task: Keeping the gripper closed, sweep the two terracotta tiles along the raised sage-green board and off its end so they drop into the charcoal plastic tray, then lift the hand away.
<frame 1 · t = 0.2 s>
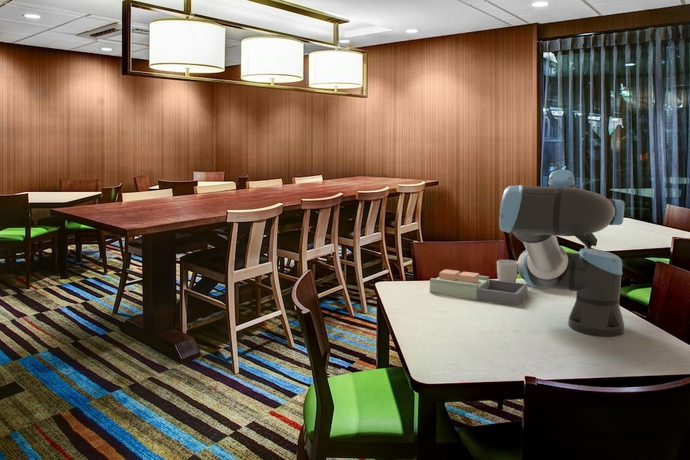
hand: (565, 255, 186), 16 cm above the table, tool tilted 35°, fingers open, 13 cm apart
cup: (506, 287, 204), on the table
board: (459, 290, 198), on the table
decorative ball: (535, 284, 207), on the table
tray: (502, 297, 190), on the table
tile rear: (449, 279, 199), point 4 cm above the table, touching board
tile front: (468, 281, 196), point 4 cm above the table, touching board
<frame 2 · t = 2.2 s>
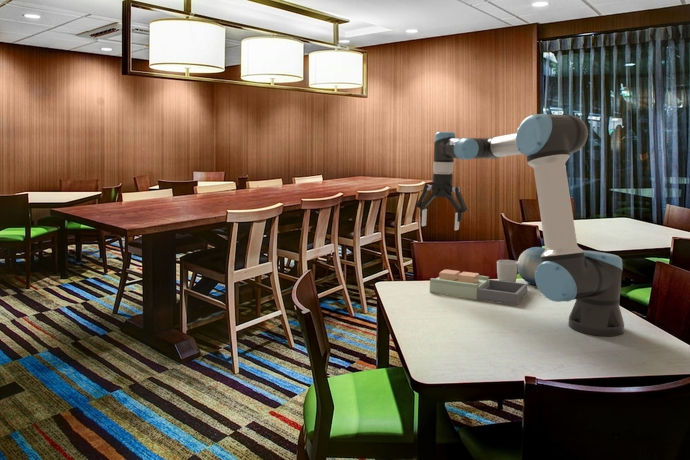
hand: (439, 227, 202), 23 cm above the table, tool pointing down, fingers open, 13 cm apart
nothing on the table moved.
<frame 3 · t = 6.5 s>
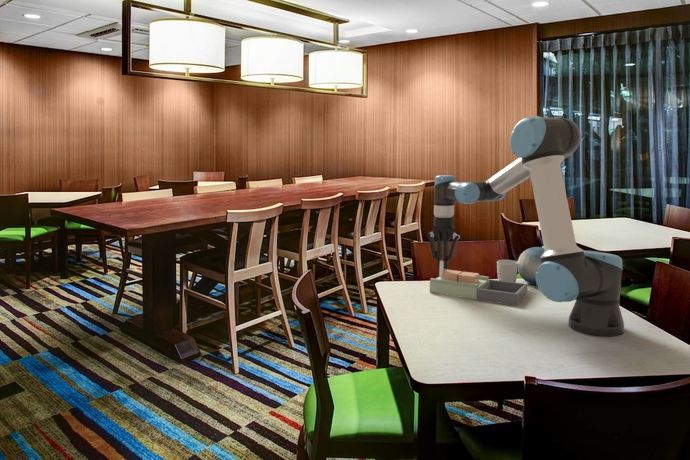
hand: (442, 276, 201), 5 cm above the table, tool pointing down, fingers closed
nothing on the table moved.
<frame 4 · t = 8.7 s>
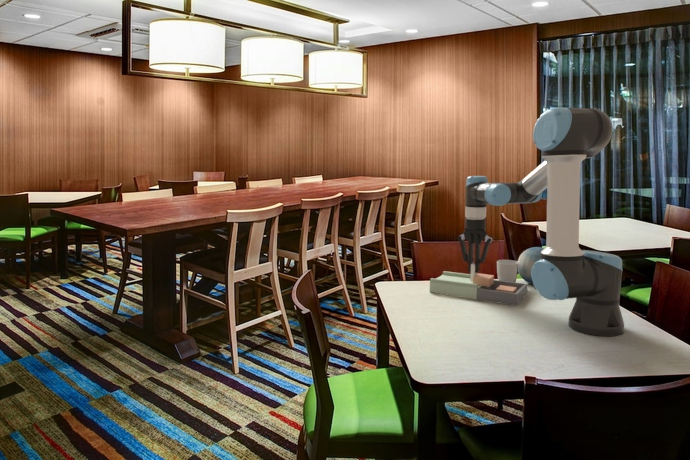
hand: (473, 280, 194), 5 cm above the table, tool pointing down, fingers closed
tile rear: (483, 283, 193), point 4 cm above the table, touching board, gripper
tile front: (506, 288, 189), point 3 cm above the table, tilted 180°, touching tray
everything else where it was.
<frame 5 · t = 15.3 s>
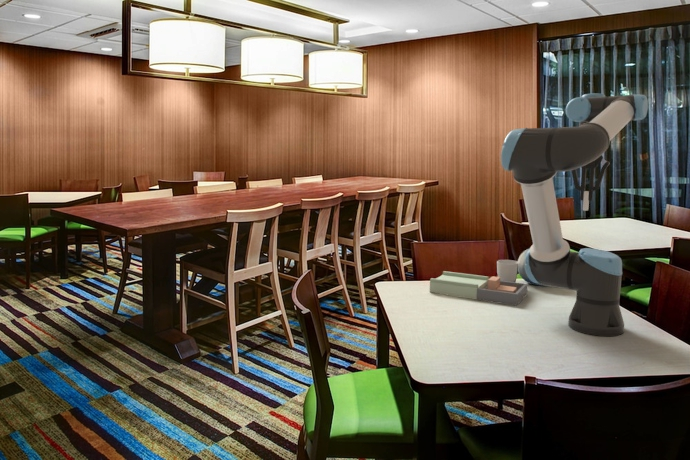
hand: (585, 210, 180), 32 cm above the table, tool pointing down, fingers closed
tile rear: (489, 285, 192), point 3 cm above the table, tilted 90°, touching tray
everything else where it was.
at the end: tile rear inside the target area (4.8 cm from its centre), point 3.5 cm above the table; tile front inside the target area (1.4 cm from its centre), point 3.5 cm above the table; tile rear touching tray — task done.
